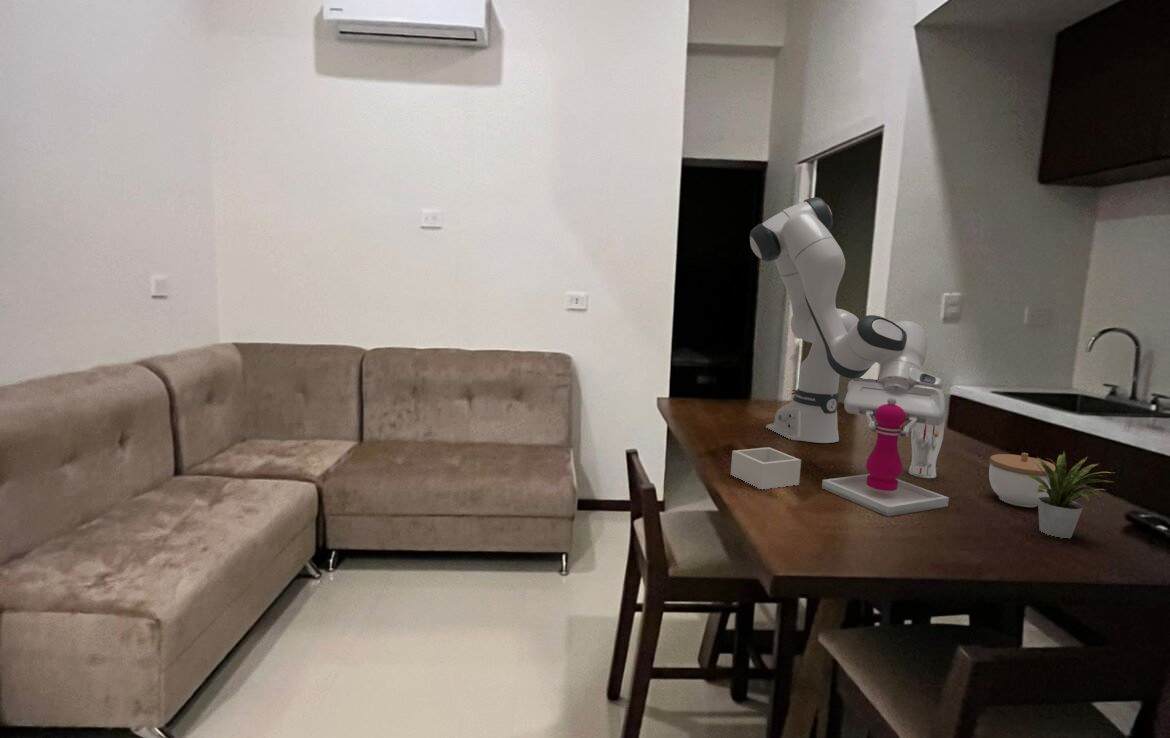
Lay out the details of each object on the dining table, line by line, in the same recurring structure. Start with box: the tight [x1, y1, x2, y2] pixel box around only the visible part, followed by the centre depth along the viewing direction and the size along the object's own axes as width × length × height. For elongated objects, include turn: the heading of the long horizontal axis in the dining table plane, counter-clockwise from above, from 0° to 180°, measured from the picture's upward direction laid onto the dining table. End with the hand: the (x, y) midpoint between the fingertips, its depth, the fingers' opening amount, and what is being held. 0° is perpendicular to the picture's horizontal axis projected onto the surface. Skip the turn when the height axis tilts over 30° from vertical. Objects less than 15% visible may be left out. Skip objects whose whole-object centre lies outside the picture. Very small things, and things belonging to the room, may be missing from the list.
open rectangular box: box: [730, 446, 802, 491], centre depth 151 cm, size 11×11×6 cm
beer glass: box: [908, 421, 945, 479], centre depth 160 cm, size 7×7×15 cm
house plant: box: [1027, 450, 1115, 539], centre depth 124 cm, size 14×14×16 cm
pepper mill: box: [865, 397, 906, 491], centre depth 141 cm, size 7×7×20 cm
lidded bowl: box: [988, 452, 1055, 508], centre depth 143 cm, size 13×13×11 cm
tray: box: [821, 473, 950, 518], centre depth 143 cm, size 18×18×2 cm
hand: (887, 432), depth 140 cm, fingers closed on pepper mill, 5 cm apart
